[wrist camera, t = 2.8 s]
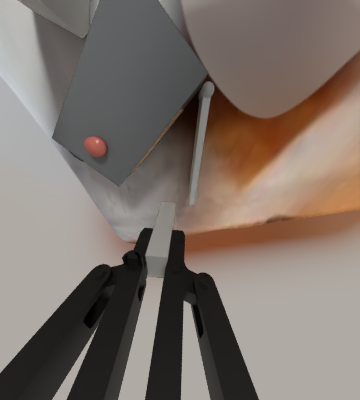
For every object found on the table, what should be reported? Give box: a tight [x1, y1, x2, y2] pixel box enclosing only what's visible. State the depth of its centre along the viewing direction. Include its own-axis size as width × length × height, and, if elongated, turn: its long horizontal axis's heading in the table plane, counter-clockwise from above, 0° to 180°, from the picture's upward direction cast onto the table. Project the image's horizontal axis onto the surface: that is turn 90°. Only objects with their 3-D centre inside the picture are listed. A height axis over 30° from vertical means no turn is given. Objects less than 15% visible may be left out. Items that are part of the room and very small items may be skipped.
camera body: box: [52, 0, 208, 186], centre depth 19 cm, size 20×10×10 cm, turn 136°
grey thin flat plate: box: [189, 82, 214, 205], centre depth 22 cm, size 17×2×7 cm, turn 176°
